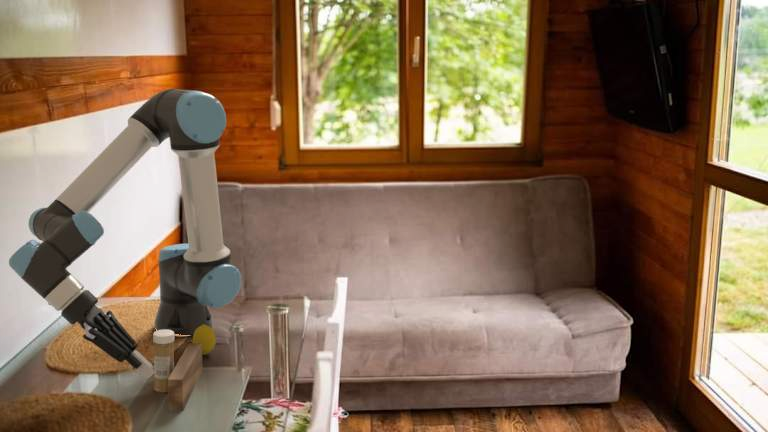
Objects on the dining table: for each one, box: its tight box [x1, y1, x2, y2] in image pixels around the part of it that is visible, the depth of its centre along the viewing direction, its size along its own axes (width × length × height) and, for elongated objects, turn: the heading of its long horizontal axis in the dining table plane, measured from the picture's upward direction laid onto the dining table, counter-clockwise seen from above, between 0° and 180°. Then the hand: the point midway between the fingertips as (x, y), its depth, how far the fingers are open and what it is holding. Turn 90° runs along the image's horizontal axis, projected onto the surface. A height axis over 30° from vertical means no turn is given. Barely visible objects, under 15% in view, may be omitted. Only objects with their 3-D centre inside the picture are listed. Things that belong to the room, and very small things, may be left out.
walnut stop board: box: [167, 342, 203, 411], centre depth 174 cm, size 3×20×7 cm, turn 1°
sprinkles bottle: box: [152, 329, 175, 393], centre depth 173 cm, size 5×5×13 cm
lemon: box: [192, 324, 217, 356], centre depth 193 cm, size 6×6×8 cm
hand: (151, 374), depth 173 cm, fingers closed
